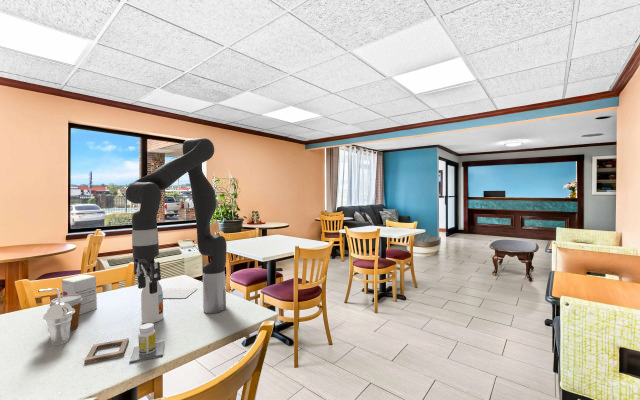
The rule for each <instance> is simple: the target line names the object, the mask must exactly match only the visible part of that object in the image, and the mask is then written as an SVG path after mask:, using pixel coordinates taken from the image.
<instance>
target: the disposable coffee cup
mask: <svg viewBox="0 0 640 400" xmlns="http://www.w3.org/2000/svg"><path fill="white" fill-rule="evenodd" d="M60 298H61V302H64V303H68V304H70V305H71V307H72V308H74V309H75V313H74V314H73V315H72V320H71V326H70V332H72V331H74V330H76V329H78V328H79V323H80V321H79V320H80V315H81V314H80V306H81V301H82V298H81V295H77V294H74V295H66V296H60ZM56 303H58V297H55V298H54V299H51V300H50V303H49V308H50V307H51V306H52V305H54V304H56ZM79 314H80V315H79Z"/></svg>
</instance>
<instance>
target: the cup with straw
mask: <svg viewBox="0 0 640 400" xmlns="http://www.w3.org/2000/svg"><path fill="white" fill-rule="evenodd" d="M53 291H57V298H58V303H56V304H54V305H52V306H51V307H50V306H49V307H48V308H47V310H46V313H44V315H43V316H42V320H45V321H46V325H47V327H48V332H49V335H50V336H49V337H50V341H51V345H52V346H60V345H63V344H66V343H67V342H69V341H70V339H69V338H70V334H71V331H70V326H71V320H72V315H73V314H74V313H75V309H74V308H72V307H71V305H70V304H68V303H64V302H61V298H60V297H61V289H59V288H55V287H54V288H47V289H38V293H44V292H53Z"/></svg>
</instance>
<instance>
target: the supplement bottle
mask: <svg viewBox="0 0 640 400" xmlns="http://www.w3.org/2000/svg"><path fill="white" fill-rule="evenodd" d="M154 325H155V323H147V324H146V323H143V324H142V325H140V326H139V333H138V336H137V337H138V346H139V353H140V354H142V355H145V354H149V353H152V352H153V351H155V349H156V343H157V341H156V339H157V338H156V330H155V326H154Z"/></svg>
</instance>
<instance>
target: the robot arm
mask: <svg viewBox="0 0 640 400" xmlns="http://www.w3.org/2000/svg"><path fill="white" fill-rule="evenodd" d="M214 153H215V145H214V143H213V141H211V140H210V139H209V138H205V137H200V138H199V137H196V138H188V139H185V141H183V144H182V155H181V156H179V157H176V158H174V159H171V160H169V161H167V162H166V163H163V164H162V165H161V166H159V167H158V168H156V169H155V170H153V171H152V172H151V173H150V174H147V175H144V176H143V177H140V178H138V179H136V180H135V181H133V182H132V183H130V184H129V185H128V186H127V188H126V191H125V198H126V200H127V201H128V202H130V203H132V204H137V205H140V209H139V211H136V212H134V213H133V214H132V216H131V228H132V231H131V234H132V235H131V246H132V247H131V248H132V258H133V275H134V276H136V278H137V288H138V289H140V290H142V289H143V288H145V287H146V277H147V278H148V281H149V293H150V294H154V293H157V281H159V282H160V281H161V280H162V278H161V264H160V261H157V262H155V258H156V257H158V256H159V255H160V250H159V249H160V245H159V243H160V242H159V232H158V219H157V217H158V213H159V209H160V206H161V205H160V204H161V200H162V192H161V191H162V190H167V189H168V188H170V186H172V185H173V184H174V183H175V182H176V181H178V180H179V179H180V178H182V176H184V175H185V174H188V180H189V185H190V190H191V196H192V198H191V200H192V203H193V209H194V216H195V223H196V236H197V237H196V238H197V239H196V241H197V242H196V243H197V249H198V252H199V253H200V255H202V256H205V257H211V261H210V262H208V263H205V264H204V265H203V266H202V303H203V304H202V307H203V309H202V310H203V312H204V313H206V314H217V313H220V311H221V312H223V311H226V310H227V296H226V295H227V293H226V292H227V288H226V276H225V274H226V273H225V272H226V270H225V269H226V264H227V249H228V248H227V247H228V246H227V240H226V238H225V237H224V236H223V235H218V234H217V235H216V234H214V235H213V234H211V220H212V218H213V216H214V214H215V212H216V209H217V199H216V198H217V197H216V192H215V189H214V187H213V185H212V184H211V183H210V181H209V180H208V179H207V177H206V175H205V174H204V172H203V168H202V164H203V163H205V162H207V161H209V160H210V159H212V158H213V156H214V155H215V154H214ZM225 309H226V310H225ZM222 310H223V311H222Z"/></svg>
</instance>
